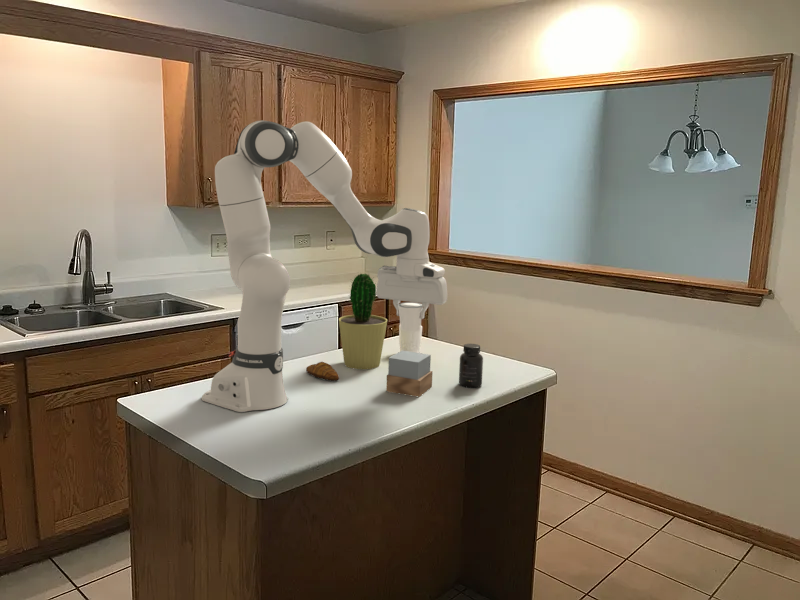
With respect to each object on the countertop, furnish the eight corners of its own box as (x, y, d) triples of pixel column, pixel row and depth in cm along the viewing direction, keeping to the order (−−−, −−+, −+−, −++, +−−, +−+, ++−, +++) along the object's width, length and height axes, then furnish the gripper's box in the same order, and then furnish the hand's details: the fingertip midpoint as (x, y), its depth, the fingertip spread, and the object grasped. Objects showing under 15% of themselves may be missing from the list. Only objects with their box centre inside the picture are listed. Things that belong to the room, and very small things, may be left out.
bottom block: (386, 392, 184) (386, 375, 183) (400, 382, 193) (400, 366, 192) (419, 398, 180) (420, 380, 179) (431, 387, 189) (432, 371, 188)
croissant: (298, 375, 197) (298, 359, 196) (315, 370, 202) (315, 354, 201) (328, 385, 188) (328, 368, 187) (345, 380, 193) (346, 364, 192)
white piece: (420, 333, 180) (420, 308, 178) (396, 331, 181) (396, 306, 179) (424, 326, 186) (424, 302, 184) (400, 325, 187) (400, 301, 186)
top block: (388, 374, 183) (388, 357, 182) (401, 366, 191) (402, 350, 191) (417, 379, 180) (418, 362, 179) (430, 371, 188) (430, 354, 187)
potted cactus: (372, 374, 199) (374, 277, 194) (328, 366, 206) (330, 272, 200) (394, 362, 213) (397, 271, 207) (353, 355, 219) (355, 267, 214)
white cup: (413, 358, 218) (414, 329, 216) (393, 354, 222) (394, 326, 220) (425, 353, 224) (426, 325, 223) (406, 350, 229) (407, 322, 227)
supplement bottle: (459, 380, 196) (461, 341, 194) (482, 382, 195) (485, 343, 193) (457, 387, 190) (459, 347, 187) (480, 389, 188) (483, 349, 186)
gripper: (373, 266, 181) (371, 314, 183) (443, 272, 173) (440, 323, 176) (382, 263, 187) (380, 311, 189) (450, 269, 179) (448, 318, 182)
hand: (410, 317), depth 183 cm, fingers closed on white piece, 5 cm apart
